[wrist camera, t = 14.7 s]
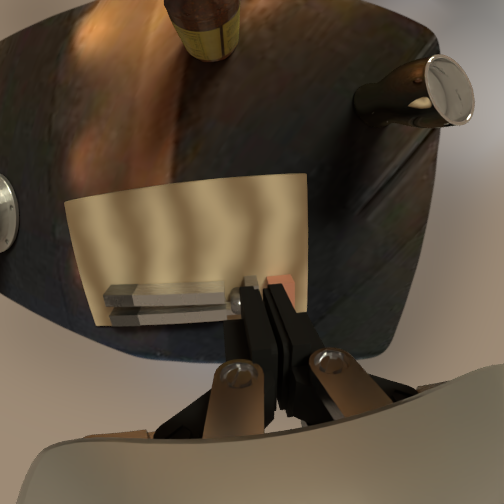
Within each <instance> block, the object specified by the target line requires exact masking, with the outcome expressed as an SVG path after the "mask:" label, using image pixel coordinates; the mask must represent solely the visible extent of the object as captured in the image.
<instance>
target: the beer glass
mask: <svg viewBox="0 0 504 504" xmlns="http://www.w3.org/2000/svg"><path fill="white" fill-rule="evenodd" d="M474 104H475V101H474V93H473V89H472V86H471V83H470V81H469V78H468V77H467V75H466V73H465V72H464V70H463V69H462V68H461V66H460V65H459V64H458V63H456V62H455V61H454V60H453V59H452V58H450V57H448V56H445V55H441V54H438V55H434V56H430V57H425V58H420V59H416V60H413V61H410V62H407V63H405V64H403V65H401V66H399V67H397V68H396V69H394V70H393V71H391V72H390V73H389V74H388V75H387V76H385V77H384V78H383V79H382V80H381V81H379V82H377V83H367V84H364V85H362V86H360V87H359V88H358V89H357V91H356V92H355V95H354V108H355V111H356V113H357V115H358V117H359V118H360V119H361V120H362V121H363V122H364V123H365V124H367V125H369V126H371V127H374V128H381V127H385V126H387V125H389V124H391V123H397V124H402V125H407V126H411V127H418V128H441V127H449V126H456V125H464V124H466V123H467V122H468V121H469V120H470V119H471V117H472V115H473V112H474V106H475V105H474Z"/></svg>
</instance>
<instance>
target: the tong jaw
mask: <svg viewBox="0 0 504 504" xmlns="http://www.w3.org/2000/svg"><path fill="white" fill-rule="evenodd" d="M103 298H104V302H105V306H106V307H135V306H178V305H205V304H225V286H224V281H210V282H189V283H163V284H119V285H110V286H109V288H108V289H107V290H106V292H105V293H104V294H103Z"/></svg>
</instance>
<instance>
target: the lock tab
mask: <svg viewBox="0 0 504 504" xmlns="http://www.w3.org/2000/svg"><path fill="white" fill-rule="evenodd" d="M278 283H282V285H283V287H284V289H285V291H286V293H287V295H288V297H289V299H290V301H291V303H292V305H293V307H294V309H295V282H294V280H293V278H292V276H291V274H287V275H277V276H267V286H268V284H278Z"/></svg>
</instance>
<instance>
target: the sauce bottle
mask: <svg viewBox="0 0 504 504" xmlns="http://www.w3.org/2000/svg"><path fill="white" fill-rule="evenodd" d="M164 6H165V8H166V10H167V12H168V15H169V17H170V19H171V21H172V24H173V26H174V27H175V29H176V31H177V33H178V35H179V37H180V38H181V40H182V42H183V44H184V46H185V48H186V50H187V51H188V52H189V53H190V54H191V55H192V56H194V57H195V58H197V59H199V60H201V61H203V62H214V61H219V60H222V59H225V58H227V57H228V56H229V55H230V54H231V53H232V52H233V51H234V49H235V48H236V46H237V43H238V39H239V16H240V0H164Z"/></svg>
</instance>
